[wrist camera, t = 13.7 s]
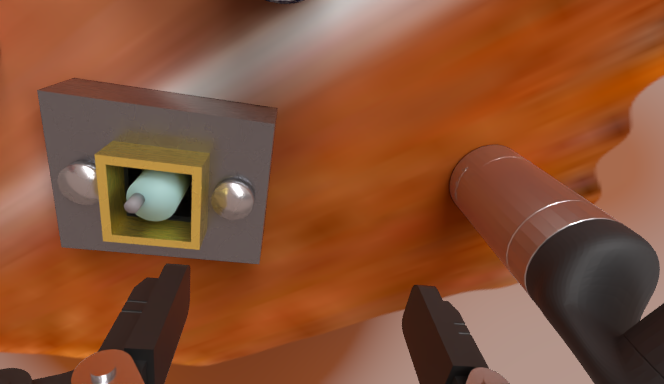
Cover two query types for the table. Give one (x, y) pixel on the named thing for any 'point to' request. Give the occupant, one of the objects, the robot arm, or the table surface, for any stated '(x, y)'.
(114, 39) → the table surface
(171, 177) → the spout can
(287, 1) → the storage jar
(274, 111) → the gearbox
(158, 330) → the robot arm
